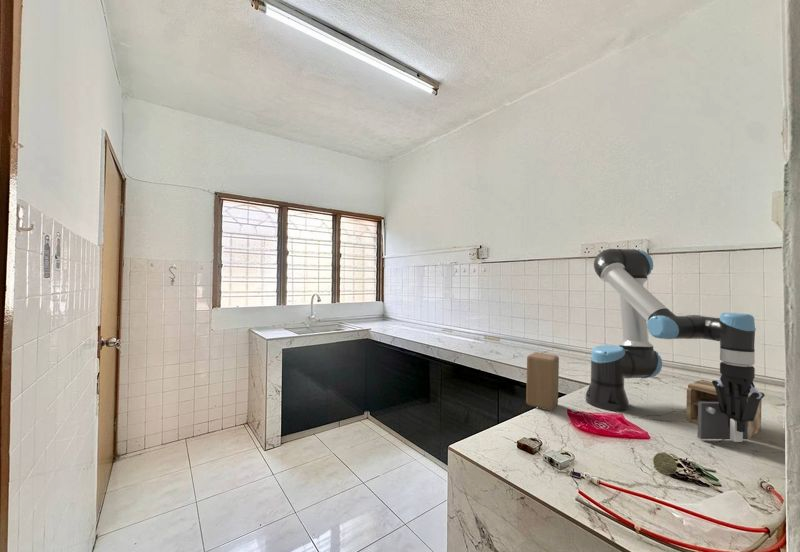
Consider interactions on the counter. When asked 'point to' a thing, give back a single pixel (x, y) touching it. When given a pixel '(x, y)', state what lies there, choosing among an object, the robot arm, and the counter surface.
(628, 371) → the robot arm
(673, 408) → the counter surface
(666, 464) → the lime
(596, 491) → the counter surface
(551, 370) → the wooden block
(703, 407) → the door
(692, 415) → the box
